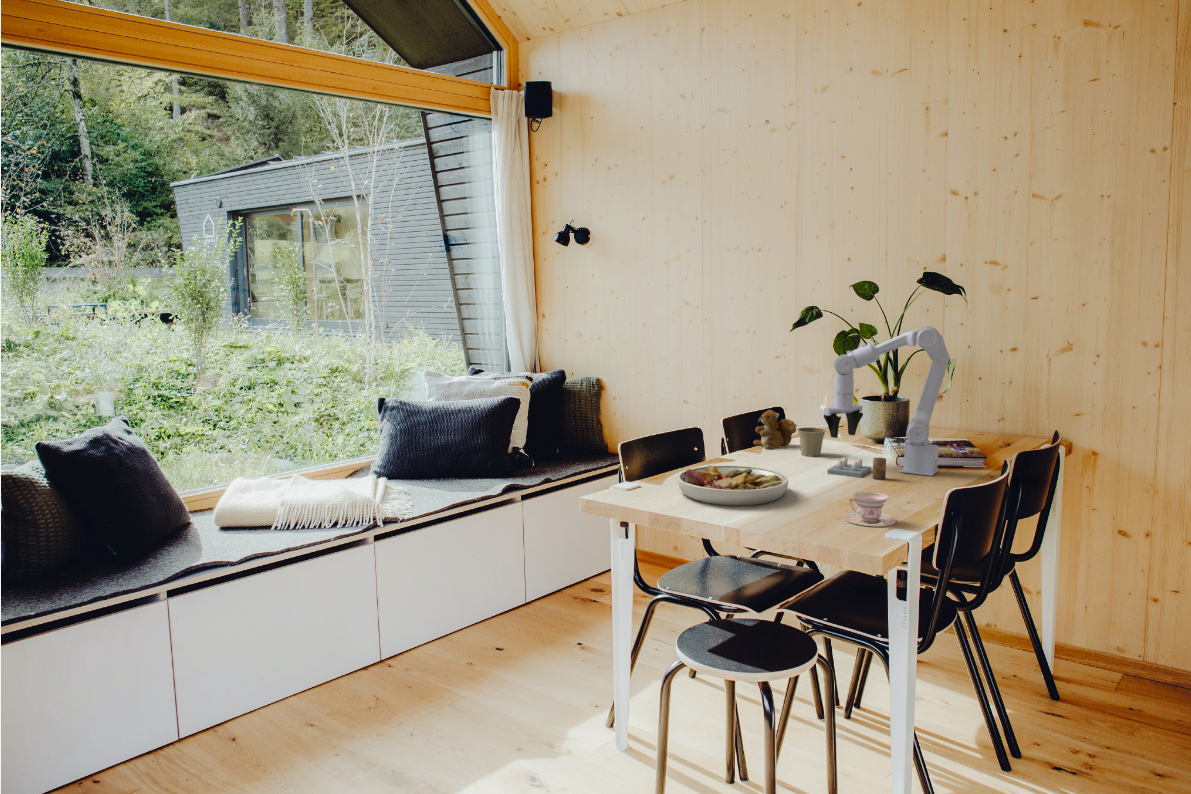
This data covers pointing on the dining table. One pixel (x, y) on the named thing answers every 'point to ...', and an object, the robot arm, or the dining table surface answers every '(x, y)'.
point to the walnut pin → (879, 468)
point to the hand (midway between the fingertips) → (842, 436)
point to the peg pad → (849, 468)
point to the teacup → (870, 508)
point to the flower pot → (811, 440)
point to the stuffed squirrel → (774, 431)
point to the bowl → (732, 485)
